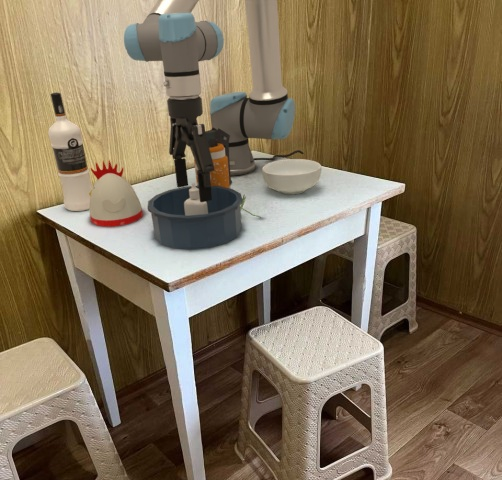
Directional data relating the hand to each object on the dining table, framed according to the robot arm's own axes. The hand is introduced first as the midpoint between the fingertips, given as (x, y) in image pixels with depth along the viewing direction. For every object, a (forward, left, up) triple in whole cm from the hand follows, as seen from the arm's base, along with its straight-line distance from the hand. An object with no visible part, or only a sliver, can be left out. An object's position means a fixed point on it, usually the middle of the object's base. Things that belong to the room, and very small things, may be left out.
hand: (193, 193), depth 124 cm
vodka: (+20, -37, -10) cm, 43 cm away
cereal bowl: (-36, -13, -10) cm, 40 cm away
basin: (0, 0, -10) cm, 10 cm away
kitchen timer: (+14, -23, -10) cm, 28 cm away
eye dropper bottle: (0, 0, -10) cm, 10 cm away
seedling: (-17, +2, -10) cm, 20 cm away
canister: (-13, -16, -10) cm, 23 cm away
